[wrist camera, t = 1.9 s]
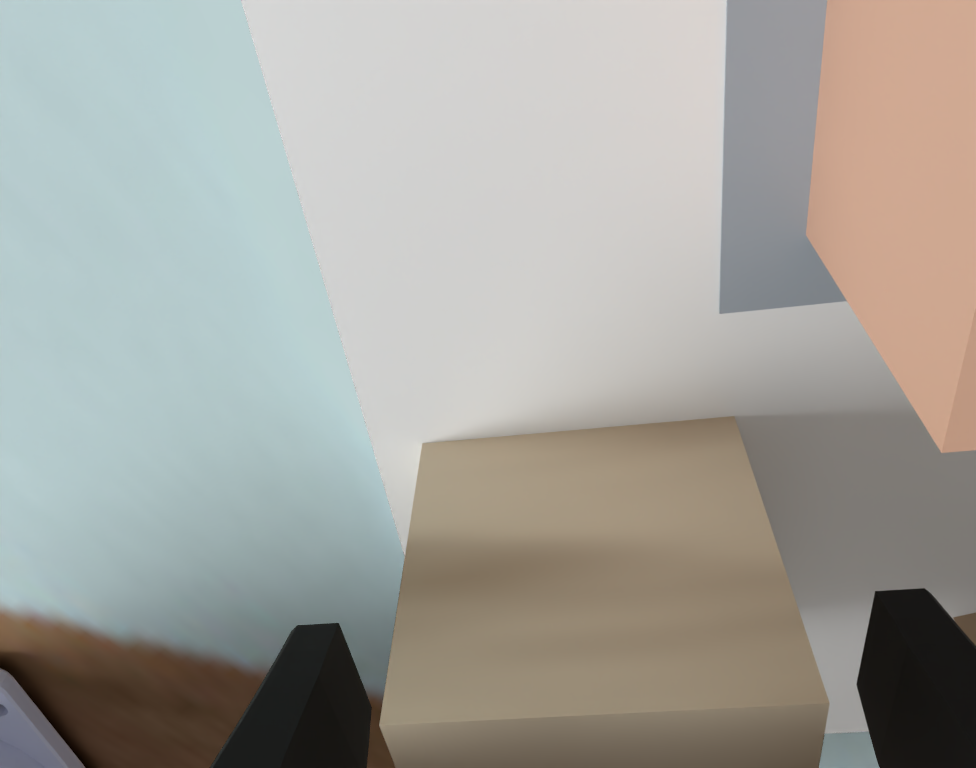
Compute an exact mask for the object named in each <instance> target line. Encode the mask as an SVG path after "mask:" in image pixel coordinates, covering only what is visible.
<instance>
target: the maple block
mask: <svg viewBox="0 0 976 768" xmlns="http://www.w3.org/2000/svg"><path fill="white" fill-rule="evenodd" d="M829 704H830V703H829V700H828V697H827V694H826V691H825V688H824V685H823V682H822V679H821V676H820V673H819V670H818V667H817V664H816V661H815V658H814V655H813V652H812V649H811V646H810V643H809V640H808V636H807V633H806V630H805V627H804V624H803V621H802V618H801V615H800V612H799V609H798V606H797V603H796V600H795V597H794V594H793V591H792V588H791V585H790V582H789V579H788V576H787V573H786V570H785V567H784V564H783V561H782V558H781V555H780V552H779V549H778V546H777V543H776V540H775V537H774V534H773V531H772V528H771V525H770V522H769V519H768V516H767V513H766V510H765V507H764V504H763V501H762V498H761V495H760V492H759V489H758V486H757V483H756V480H755V477H754V474H753V471H752V468H751V465H750V462H749V459H748V456H747V453H746V450H745V447H744V444H743V441H742V438H741V435H740V432H739V429H738V426H737V423H736V420H735V417H734V416H730V417H718V418H707V419H695V420H684V421H673V422H661V423H650V424H638V425H627V426H616V427H604V428H593V429H581V430H570V431H559V432H547V433H536V434H524V435H513V436H502V437H490V438H479V439H467V440H456V441H445V442H433V443H422V448H421V455H420V461H419V468H418V474H417V481H416V488H415V494H414V501H413V507H412V514H411V520H410V527H409V534H408V540H407V547H406V553H405V560H404V566H403V573H402V579H401V586H400V593H399V599H398V606H397V612H396V619H395V625H394V632H393V639H392V645H391V652H390V658H389V665H388V671H387V678H386V685H385V691H384V698H383V704H382V711H381V717H380V724H379V726H380V729H381V731H382V734H383V736H384V739H385V742H386V744H387V747H388V749H389V752H390V754H391V757H392V760H393V762H394V765H395V767H396V768H819V763H820V757H821V751H822V745H823V739H824V733H825V728H826V722H827V716H828V710H829Z"/></svg>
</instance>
